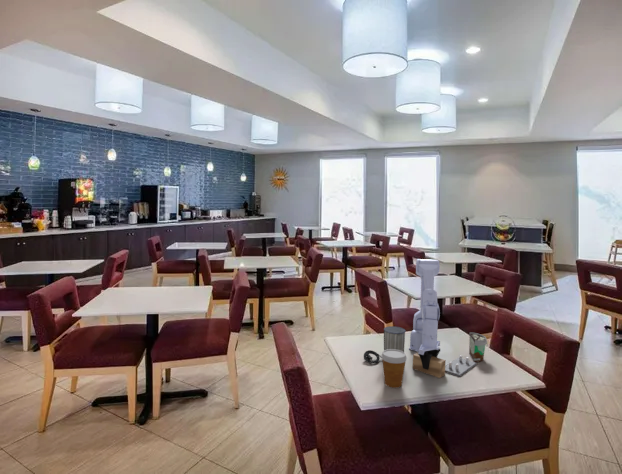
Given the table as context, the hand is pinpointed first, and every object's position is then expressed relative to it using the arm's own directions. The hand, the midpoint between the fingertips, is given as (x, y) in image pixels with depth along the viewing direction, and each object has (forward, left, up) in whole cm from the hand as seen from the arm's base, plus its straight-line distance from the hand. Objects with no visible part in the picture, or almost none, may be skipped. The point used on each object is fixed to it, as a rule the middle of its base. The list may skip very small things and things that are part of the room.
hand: (428, 367), depth 158 cm
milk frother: (-18, -5, -2) cm, 19 cm away
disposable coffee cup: (-4, -20, -2) cm, 21 cm away
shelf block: (0, 0, -2) cm, 2 cm away
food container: (+9, +29, -2) cm, 30 cm away
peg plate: (+7, +13, -2) cm, 15 cm away
